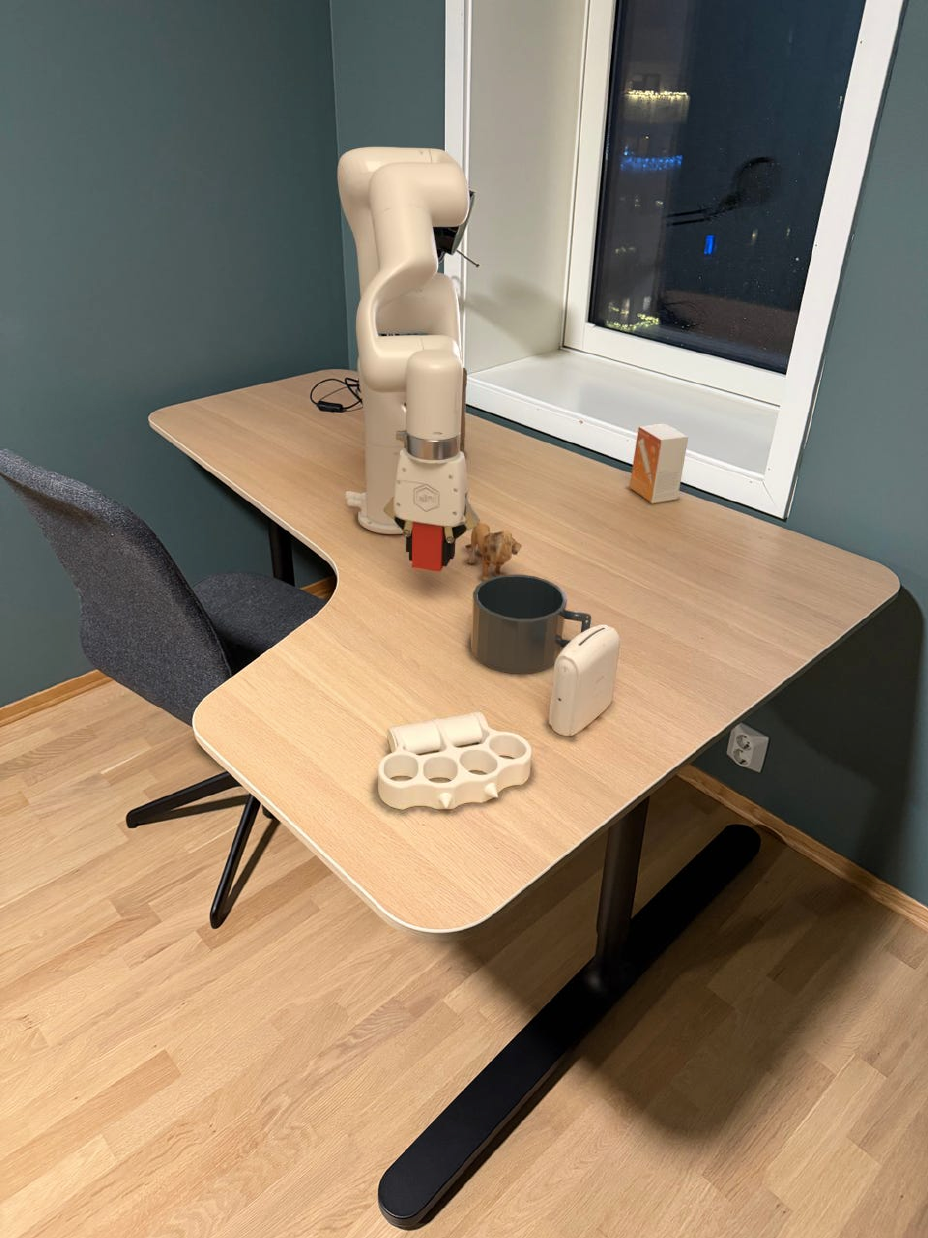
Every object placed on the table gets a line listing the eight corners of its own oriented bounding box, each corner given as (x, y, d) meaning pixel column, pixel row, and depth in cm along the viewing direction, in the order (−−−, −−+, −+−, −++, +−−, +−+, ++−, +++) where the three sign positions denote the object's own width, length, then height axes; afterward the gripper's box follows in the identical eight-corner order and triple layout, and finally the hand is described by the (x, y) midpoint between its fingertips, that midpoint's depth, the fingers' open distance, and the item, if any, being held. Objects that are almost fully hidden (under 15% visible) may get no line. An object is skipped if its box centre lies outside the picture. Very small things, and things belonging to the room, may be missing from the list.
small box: (628, 488, 176) (637, 425, 170) (655, 484, 179) (665, 422, 172) (651, 504, 170) (661, 439, 163) (678, 499, 172) (689, 436, 166)
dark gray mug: (461, 665, 121) (463, 612, 116) (482, 618, 132) (485, 568, 127) (579, 685, 118) (586, 632, 113) (591, 636, 128) (598, 585, 124)
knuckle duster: (501, 720, 111) (547, 798, 99) (360, 747, 105) (392, 832, 94) (502, 699, 109) (549, 775, 97) (360, 724, 104) (391, 808, 92)
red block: (411, 567, 130) (412, 521, 126) (420, 553, 134) (421, 509, 130) (440, 572, 129) (441, 526, 125) (448, 558, 133) (449, 513, 129)
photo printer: (571, 742, 107) (581, 658, 101) (542, 727, 110) (551, 644, 103) (615, 705, 114) (628, 624, 108) (588, 691, 117) (598, 611, 110)
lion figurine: (522, 584, 141) (526, 534, 136) (493, 591, 139) (497, 540, 134) (478, 547, 152) (480, 498, 147) (451, 552, 150) (452, 504, 145)
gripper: (365, 445, 120) (368, 562, 130) (486, 461, 117) (479, 580, 127) (383, 426, 126) (384, 539, 136) (498, 441, 123) (490, 556, 133)
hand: (430, 558), depth 131 cm, fingers closed on red block, 4 cm apart
